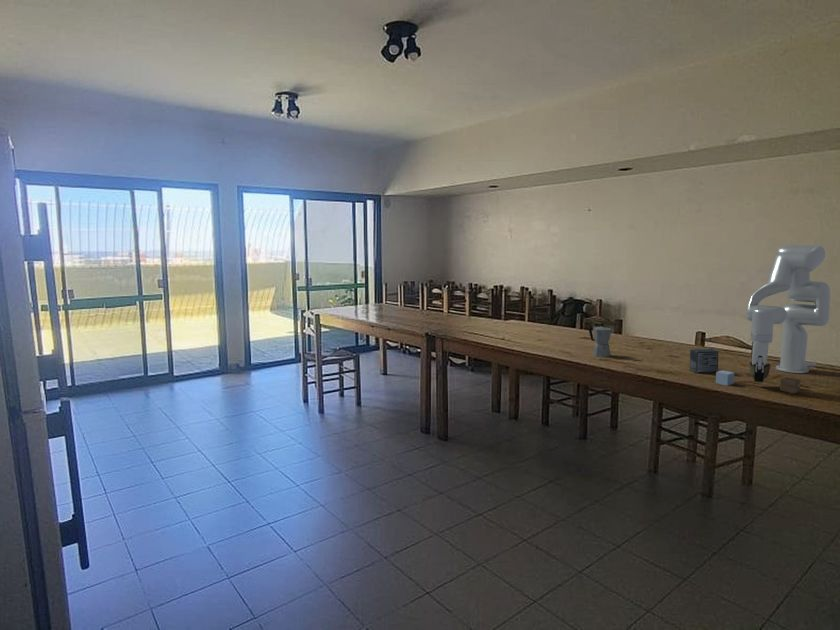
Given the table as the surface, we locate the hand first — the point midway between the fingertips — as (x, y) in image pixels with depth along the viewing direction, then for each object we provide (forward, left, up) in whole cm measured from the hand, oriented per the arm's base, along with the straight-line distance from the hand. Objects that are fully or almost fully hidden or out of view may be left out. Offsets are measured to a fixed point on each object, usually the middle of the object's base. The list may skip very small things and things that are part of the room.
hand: (758, 378), depth 215 cm
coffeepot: (+46, -65, -4) cm, 80 cm away
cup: (0, 0, -2) cm, 2 cm away
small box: (+10, -27, -4) cm, 28 cm away
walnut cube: (-9, +6, -4) cm, 11 cm away
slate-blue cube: (+11, -6, -4) cm, 13 cm away
